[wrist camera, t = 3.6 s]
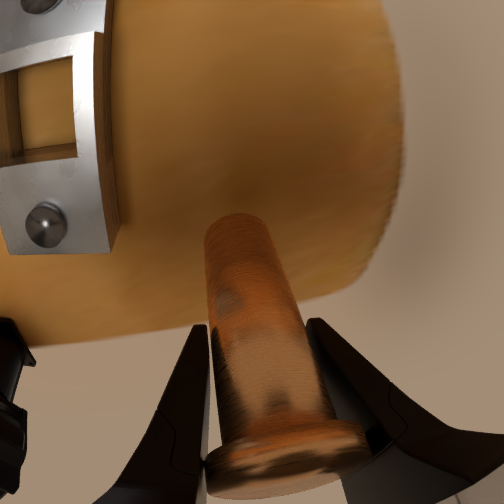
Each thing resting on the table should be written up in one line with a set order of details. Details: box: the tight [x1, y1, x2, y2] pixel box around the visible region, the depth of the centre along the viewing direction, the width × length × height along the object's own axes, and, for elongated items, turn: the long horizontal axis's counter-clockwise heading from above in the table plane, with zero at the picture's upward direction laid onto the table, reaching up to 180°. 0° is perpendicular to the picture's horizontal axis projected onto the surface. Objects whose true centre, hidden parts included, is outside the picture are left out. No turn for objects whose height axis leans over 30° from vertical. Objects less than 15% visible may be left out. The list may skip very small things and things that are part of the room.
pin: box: [204, 214, 373, 500], centre depth 10 cm, size 4×4×10 cm
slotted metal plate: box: [0, 0, 120, 255], centre depth 12 cm, size 17×7×4 cm, turn 175°
